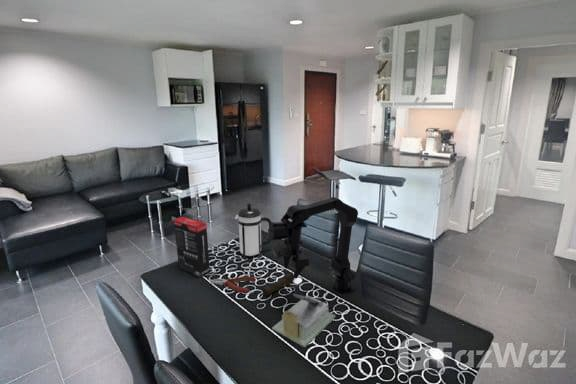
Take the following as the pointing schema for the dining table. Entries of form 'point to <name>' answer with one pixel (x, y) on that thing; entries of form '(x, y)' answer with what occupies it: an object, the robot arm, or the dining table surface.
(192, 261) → the graphics card box
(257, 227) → the coffee press
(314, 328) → the board
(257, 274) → the dining table surface
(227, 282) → the pliers
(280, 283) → the hand tool
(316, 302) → the dark grey flat bar
